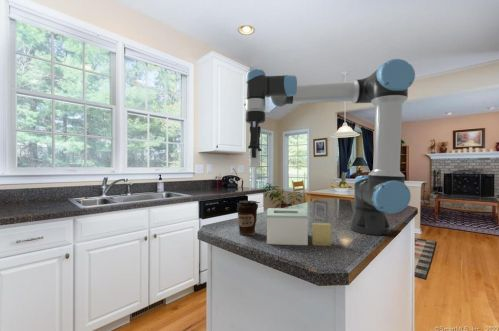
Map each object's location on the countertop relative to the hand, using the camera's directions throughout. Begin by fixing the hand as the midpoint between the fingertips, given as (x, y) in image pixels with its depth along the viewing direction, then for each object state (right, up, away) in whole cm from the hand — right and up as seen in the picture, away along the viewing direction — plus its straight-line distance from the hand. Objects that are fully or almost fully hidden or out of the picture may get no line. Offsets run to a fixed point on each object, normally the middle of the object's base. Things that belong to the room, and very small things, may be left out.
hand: (255, 167), depth 92 cm
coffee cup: (-3, -27, +4) cm, 27 cm away
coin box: (+11, -27, -2) cm, 29 cm away
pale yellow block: (+23, -27, -8) cm, 36 cm away
